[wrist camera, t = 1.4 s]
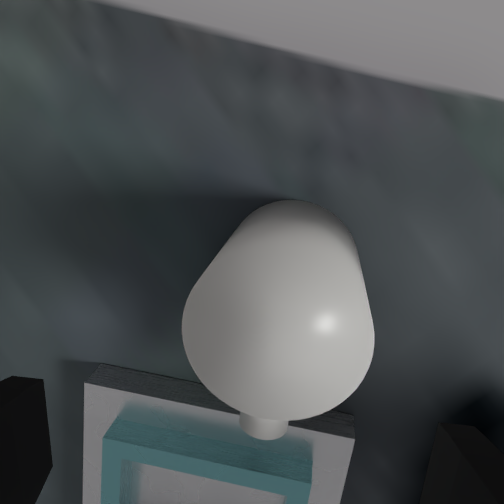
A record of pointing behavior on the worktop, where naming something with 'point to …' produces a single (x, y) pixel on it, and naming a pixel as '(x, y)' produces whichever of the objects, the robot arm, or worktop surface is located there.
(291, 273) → the grey rounded piece
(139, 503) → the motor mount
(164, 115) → the worktop surface
